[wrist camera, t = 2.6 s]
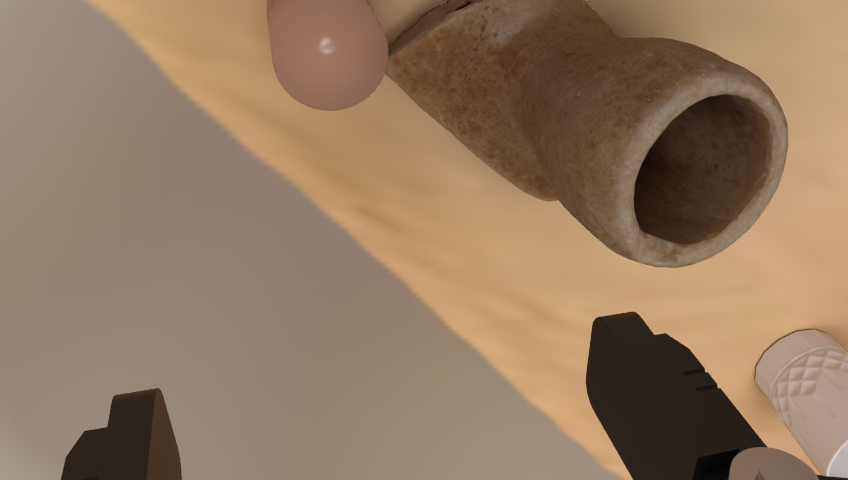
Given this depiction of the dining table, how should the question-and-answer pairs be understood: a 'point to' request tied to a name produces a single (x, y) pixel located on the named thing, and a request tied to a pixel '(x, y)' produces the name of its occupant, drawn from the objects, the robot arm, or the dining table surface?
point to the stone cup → (602, 121)
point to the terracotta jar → (327, 50)
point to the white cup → (810, 395)
